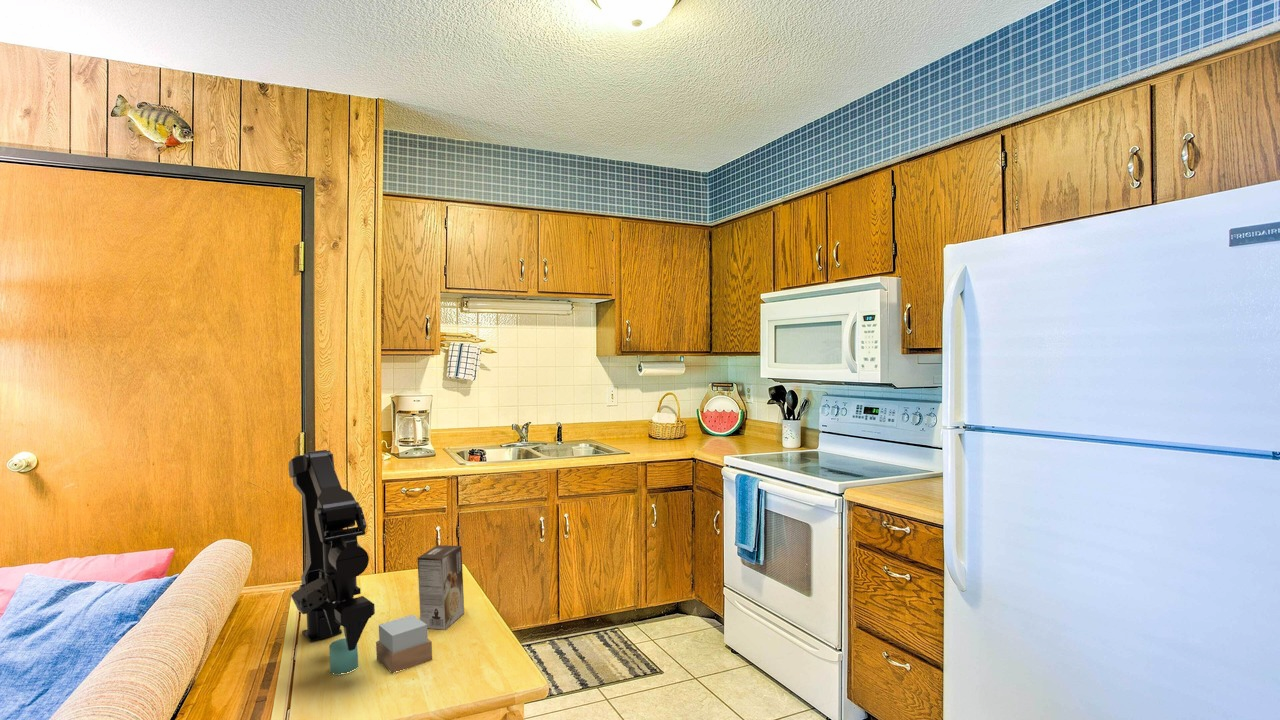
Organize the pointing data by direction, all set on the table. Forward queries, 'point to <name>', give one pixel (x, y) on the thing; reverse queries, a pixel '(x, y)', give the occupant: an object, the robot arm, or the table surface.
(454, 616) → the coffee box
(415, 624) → the tower top
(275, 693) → the table surface
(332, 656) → the teal cylinder
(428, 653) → the tower base
